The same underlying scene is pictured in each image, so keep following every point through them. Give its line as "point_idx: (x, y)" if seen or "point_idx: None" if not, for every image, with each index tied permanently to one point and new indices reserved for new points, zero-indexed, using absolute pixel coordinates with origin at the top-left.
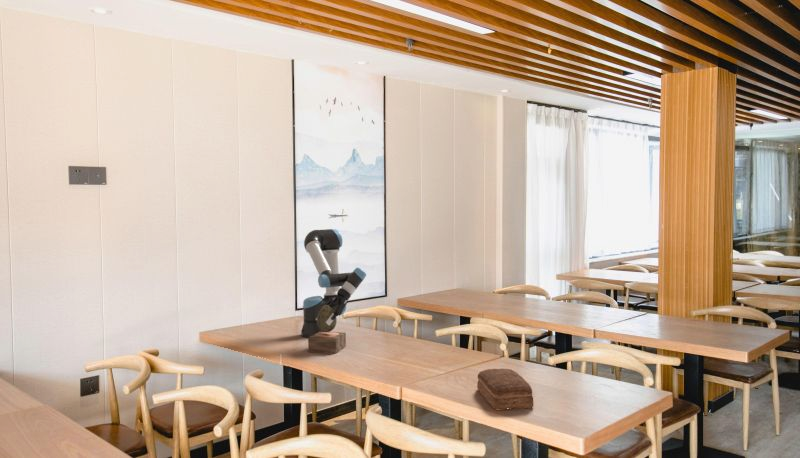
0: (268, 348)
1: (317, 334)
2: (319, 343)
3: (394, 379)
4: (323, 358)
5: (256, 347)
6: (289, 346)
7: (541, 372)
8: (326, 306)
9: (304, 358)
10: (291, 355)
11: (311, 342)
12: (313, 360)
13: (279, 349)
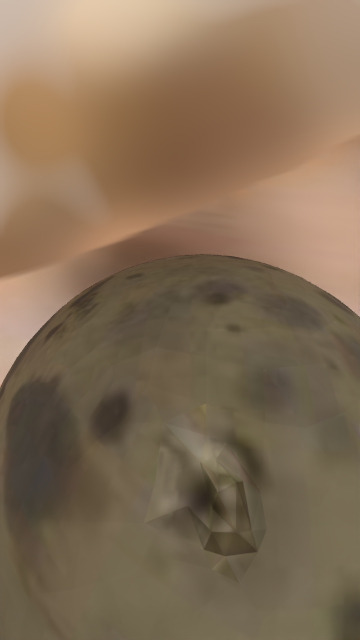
0: (321, 178)
1: None
2: None
3: None
4: (13, 353)
5: (354, 144)
6: (337, 258)
7: None
8: (37, 438)
9: (67, 275)
10: (150, 238)
11: None
12: (8, 302)
13: (286, 212)
